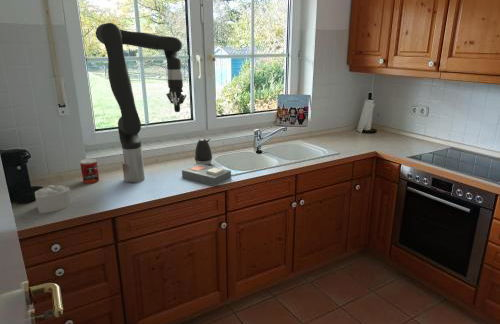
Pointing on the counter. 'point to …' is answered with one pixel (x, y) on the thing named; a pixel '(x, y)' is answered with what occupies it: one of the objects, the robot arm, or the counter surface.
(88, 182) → the canned food
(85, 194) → the counter surface
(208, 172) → the white key
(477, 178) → the counter surface
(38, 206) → the lumpy-topped squat cylinder
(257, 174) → the counter surface
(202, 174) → the key console
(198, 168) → the red key
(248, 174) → the counter surface
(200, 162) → the pump dispenser
